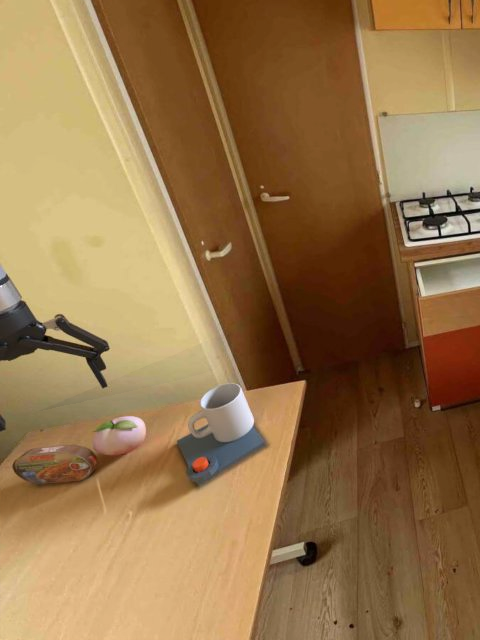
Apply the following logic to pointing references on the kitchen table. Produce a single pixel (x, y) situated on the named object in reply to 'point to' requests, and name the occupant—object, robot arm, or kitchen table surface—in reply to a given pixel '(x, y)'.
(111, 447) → the decorative fruit
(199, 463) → the scale button
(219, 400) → the mug
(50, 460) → the tin
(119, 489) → the kitchen table surface
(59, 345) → the robot arm
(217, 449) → the scale
